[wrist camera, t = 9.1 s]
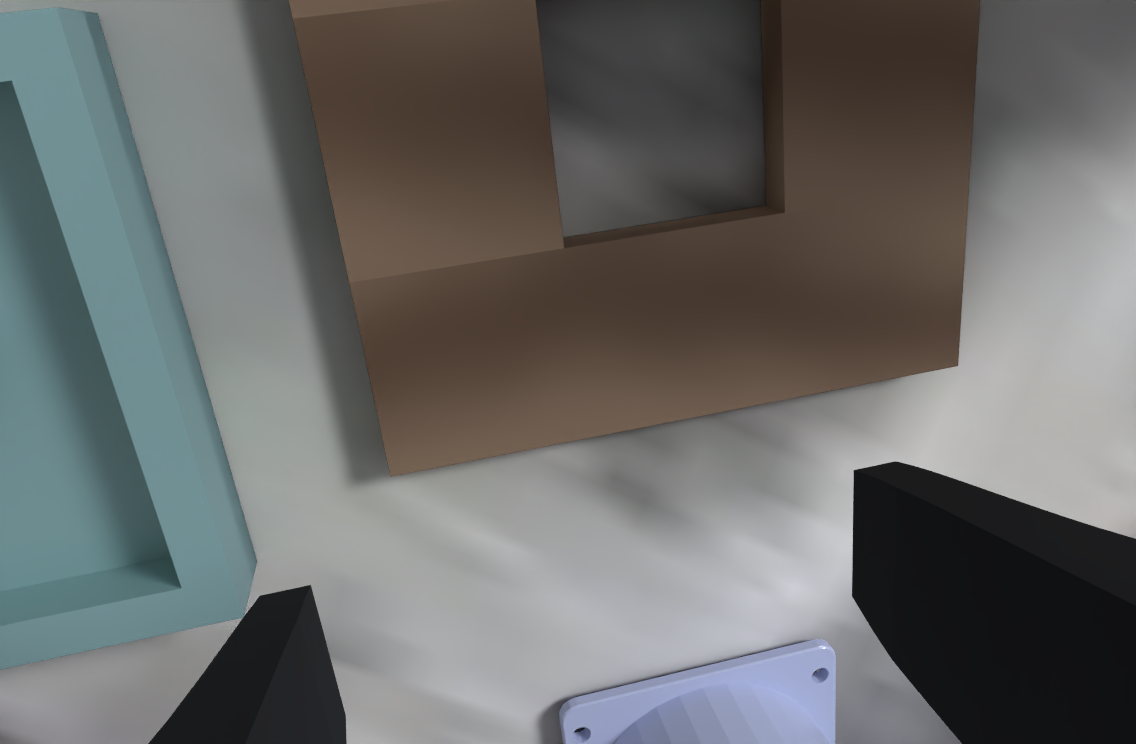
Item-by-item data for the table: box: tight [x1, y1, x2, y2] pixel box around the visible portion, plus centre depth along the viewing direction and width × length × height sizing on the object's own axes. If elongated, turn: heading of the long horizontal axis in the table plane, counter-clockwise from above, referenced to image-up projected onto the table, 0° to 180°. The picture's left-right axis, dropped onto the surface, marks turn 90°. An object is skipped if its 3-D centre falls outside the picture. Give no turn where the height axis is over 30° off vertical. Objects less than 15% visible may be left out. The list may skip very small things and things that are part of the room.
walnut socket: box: [289, 0, 980, 477], centre depth 18 cm, size 14×14×1 cm
